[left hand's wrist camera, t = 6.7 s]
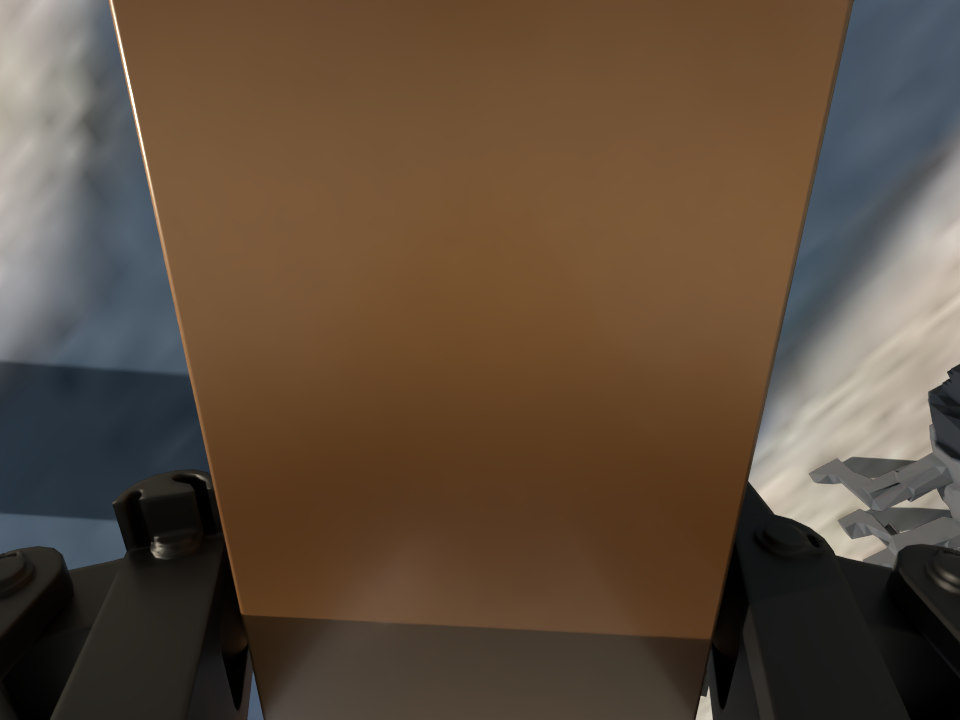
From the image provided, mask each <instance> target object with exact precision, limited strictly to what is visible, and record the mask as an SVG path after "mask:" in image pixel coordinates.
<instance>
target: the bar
mask: <svg viewBox="0 0 960 720" xmlns="http://www.w3.org/2000/svg"><path fill="white" fill-rule="evenodd" d="M853 1H854V0H109V5H110V9H111V14H112V18H113V23H114V28H115V32H116V37H117V42H118V46H119V51H120V55H121V60H122V65H123V69H124V74H125V79H126V83H127V88H128V93H129V97H130V102H131V106H132V111H133V116H134V120H135V125H136V130H137V134H138V139H139V143H140V148H141V153H142V157H143V162H144V167H145V171H146V176H147V181H148V185H149V190H150V194H151V199H152V204H153V208H154V213H155V218H156V222H157V227H158V231H159V236H160V241H161V245H162V250H163V255H164V259H165V264H166V269H167V273H168V278H169V282H170V287H171V292H172V296H173V301H174V306H175V310H176V315H177V319H178V324H179V329H180V333H181V338H182V343H183V347H184V352H185V357H186V361H187V366H188V370H189V375H190V380H191V384H192V389H193V394H194V398H195V403H196V408H197V412H198V417H199V421H200V426H201V431H202V435H203V440H204V445H205V449H206V454H207V458H208V463H209V468H210V472H211V477H212V482H213V486H214V491H215V496H216V500H217V505H218V509H219V514H220V519H221V523H222V528H223V533H224V537H225V542H226V546H227V551H228V556H229V560H230V565H231V570H232V574H233V579H234V584H235V588H236V593H237V597H238V602H239V607H240V611H241V616H242V621H243V625H244V630H245V634H246V639H247V644H248V648H249V653H250V658H251V662H252V667H253V672H254V676H255V681H256V685H257V690H258V695H259V699H260V704H261V709H262V713H263V718H264V720H695V719H696V715H697V710H698V706H699V701H700V697H701V692H702V688H703V683H704V678H705V674H706V669H707V665H708V660H709V656H710V651H711V647H712V642H713V638H714V633H715V628H716V624H717V619H718V615H719V610H720V606H721V601H722V597H723V592H724V588H725V583H726V579H727V574H728V569H729V565H730V560H731V556H732V551H733V547H734V542H735V538H736V533H737V529H738V524H739V519H740V515H741V510H742V506H743V501H744V497H745V492H746V488H747V483H748V479H749V474H750V469H751V465H752V460H753V456H754V451H755V447H756V442H757V438H758V433H759V429H760V424H761V419H762V415H763V410H764V406H765V401H766V397H767V392H768V388H769V383H770V379H771V374H772V369H773V365H774V360H775V356H776V351H777V347H778V342H779V338H780V333H781V329H782V324H783V319H784V315H785V310H786V306H787V301H788V297H789V292H790V288H791V283H792V279H793V274H794V269H795V265H796V260H797V256H798V251H799V247H800V242H801V238H802V233H803V229H804V224H805V219H806V215H807V210H808V206H809V201H810V197H811V192H812V188H813V183H814V179H815V174H816V169H817V165H818V160H819V156H820V151H821V147H822V142H823V138H824V133H825V129H826V124H827V119H828V115H829V110H830V106H831V101H832V97H833V92H834V88H835V83H836V79H837V74H838V70H839V65H840V60H841V56H842V51H843V47H844V42H845V38H846V33H847V29H848V24H849V20H850V15H851V10H852V6H853Z"/></svg>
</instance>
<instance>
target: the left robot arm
mask: <svg viewBox="0 0 960 720" xmlns="http://www.w3.org/2000/svg"><path fill="white" fill-rule="evenodd" d="M112 504H113V508H114V511H115V514H116V517H117V521H118V524H119V527H120V530H121V534H122V537H123V540H124V544H125V547H126V550H127V552H126V554H125V556H124V558H121V559H118V560H114V561H110V562H105V563H100V564H96V565H91V566H86V567H82V568H77V569H72V570H68V569H67V566H66V563H65V560H64V558H63V555H62V554H61V553H60V552H58V551H57V550H56V549H54V548H49V547H41V546H36V547H29V548H22V549H17V550H13V551H9V552H7V553H2V554H0V720H247V717H248V708H249V699H250V690H251V682H252V673H253V667H252V662H251V658H250V653H249V648H248V644H247V639H246V634H245V630H244V625H243V621H242V616H241V611H240V607H239V602H238V597H237V593H236V588H235V584H234V579H233V574H232V570H231V565H230V560H229V556H228V551H227V546H226V542H225V537H224V533H223V528H222V523H221V519H220V514H219V509H218V505H217V500H216V496H215V491H214V486H213V482H212V477H211V475H210V474H209V473H208V472H203V471H199V470H194V469H192V470H175V471H171V472H166V473H162V474H157V475H155V476H152V477H150V478H147V479H145V480H142V481H140V482H138V483H136V484H134V485H133V486H131V487H130V488H128V489H127V490H125V491H123V492H122V493H121V494H120V495H119V496H118V498H117V499H116V500H115V501H114V502H113V503H112ZM708 687H709V689H710V698H711V707H712V715H713V720H960V551H957V550H956V551H955V550H953V549H950V548H946V547H942V546H935V545H928V544H915V545H907V546H905V547H904V548H903V549H901V550H900V551H899V552H898V554H897V556H896V559H895V562H894V565H893V567H892V568H890V567H885V566H880V565H876V564H871V563H866V562H861V561H857V560H852V559H847V558H844V557H840V556H836V555H835V553H834V551H833V549H832V548H831V547H830V545H829V544H828V543H827V541H826V540H825V539H824V538H823V537H822V536H820V535H819V534H818V533H816V532H815V531H814V530H812V529H811V528H810V527H807V526H805V525H803V524H801V523H799V522H797V521H795V520H792V519H789V518H785V517H782V516H778V515H775V514H774V513H773V512H772V511H771V509H770V508H769V507H768V505H767V504H766V503H765V502H764V500H763V499H762V498H761V497H760V495H759V494H758V493H757V492H756V490H755V489H754V488H753V487H752V485H751V484H750V483H749V482H748V483H747V488H746V492H745V497H744V501H743V506H742V510H741V515H740V519H739V524H738V529H737V533H736V538H735V542H734V547H733V551H732V556H731V560H730V565H729V569H728V574H727V579H726V583H725V588H724V592H723V597H722V601H721V606H720V610H719V615H718V619H717V624H716V628H715V633H714V638H713V642H712V647H711V651H710V656H709V660H708V665H707V669H706V674H705V678H704V683H703V688H702V692H701V696H705V697H706V696H707V691H708Z"/></svg>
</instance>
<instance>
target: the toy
mask: <svg viewBox="0 0 960 720" xmlns="http://www.w3.org/2000/svg"><path fill="white" fill-rule="evenodd" d="M947 373H948V375H949V377H950V379H948V380H946V381H945V382H943V384H942V385H940V386H938V387H936V388H935V389H933V390H931V391H929V392H928V395H929V399H928V402H929V406H930V411H931V417H932V423H933V424H931V425H930V439H931V444H932V449H933V453H931V454H929V455H927V456H926V457H924V458H922V459H920V460H918V461H916V462H913V463H911V464H908V465H905V466H903V467H900V468H897V469H895V470H892V471H890V472H888V473H886V474H884V475H882V476H880V477H878V478H875V479H873V480H872V479H870V478H868V477H865V476H863V475H860V474H858V473H855V472H853V471H852V470H850V469H849V468H848V467H847V466H846V465H845V464H843V463H842V462H841V461H840V460H839V459H835V460H833V461H831V462H829V463H827V464H826V465H824V466H822V467H820V468H818V469H816V470H815V471H813V472H811V473H809V475H810V476H811V478H812V480H813V481H814V482H816V483H821V484H838V483H842V484H843V485H844V486H846V487H847V488H848V489H849V490H850V491H851V492H852V493H854V494H855V495H856V496H857V497H858V498H859V499H860V500H861V501H863V502H864V503H865V504H866V505H867V506H868V507H869V508H871V509H872V510H876V511H883V510H885V509H887V508H890V507H892V506H894V505H896V504H898V503H900V502H902V501H904V500H909V501H910V502H912V501H914V500H915V499H917V498H919V497H921V496H923V495H924V494H926V493H928V492H930V491H932V490H933V489H936V488H937V490H938V492H939V494H940V496H941V498H942V500H943V501H944V502H945V503H946V504H947V505H948V506H949V508H950V512H951V516H952V518H949V517H941V518H938V519H936V520H934V521H931V522H929V523H926V524H924V525H922V526H919V527H917V528H914V529H912V530H909V531H906V532H903V533H899V532H898V531H897V530H896V529H895V528H894V527H893V525H892V524H891V523H889V524H888V525H887V526H886V527H884V526H883V525H882V524H881V523H880V522H879V521H878V520H877V519H876V518H875V517H873V516H872V515H871V514H869V513H867V512H865V511H863V510H861V509H859V510H857V511H855V512H853V513H851V514H849V515H847V516H845V517H843V518H841V519H839V520H838V521H839V523H840V525H841V526H842V528H843V530H844V531H845V532H846V533H847V534H848V536H849V537H850V538H851V539H855V538H860V537H865V536H869V535H874V536H876V537H878V538H879V539H880V540H881V541H882V542H883V543H884V544H885V545H886V546H887V547H888V548H886V549H884V550H882V551H880V552H878V553H876V554H874V555H872V556H870V557H868V558H866V559H864V560H863V562H866V563H871V564H876V565H880V566H885V567H890V568H892V567H893V565H894V562H895V559H896V556H897V554H898V552H899V551H900V550H901V549H903V548H904V547H905V546H907V545H915V544H928V545H935V546H942V547H946V548H957V547H960V364H959V365H957V366H955V367H954V368H952V369H951V370H949V371H948V372H947Z"/></svg>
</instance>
